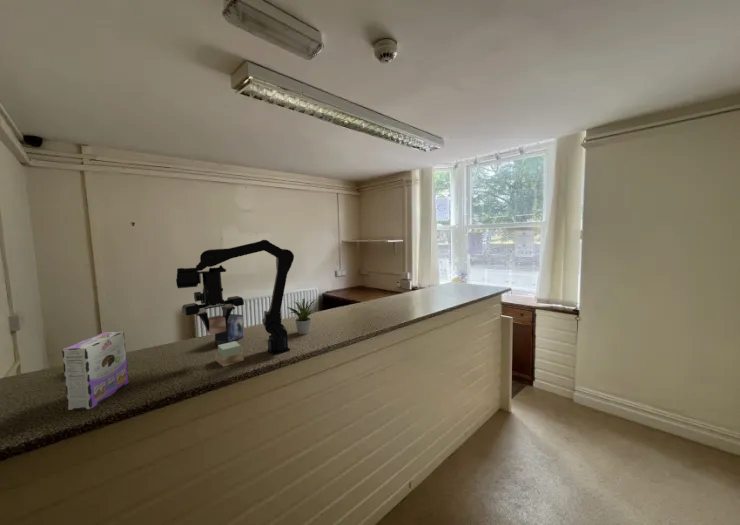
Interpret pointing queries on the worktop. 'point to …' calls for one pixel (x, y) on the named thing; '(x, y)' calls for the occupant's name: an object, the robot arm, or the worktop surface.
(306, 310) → the house plant
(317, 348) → the worktop surface
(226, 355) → the sage top block
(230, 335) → the small box
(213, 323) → the rose cube
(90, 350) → the candy box
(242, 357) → the beech base block
